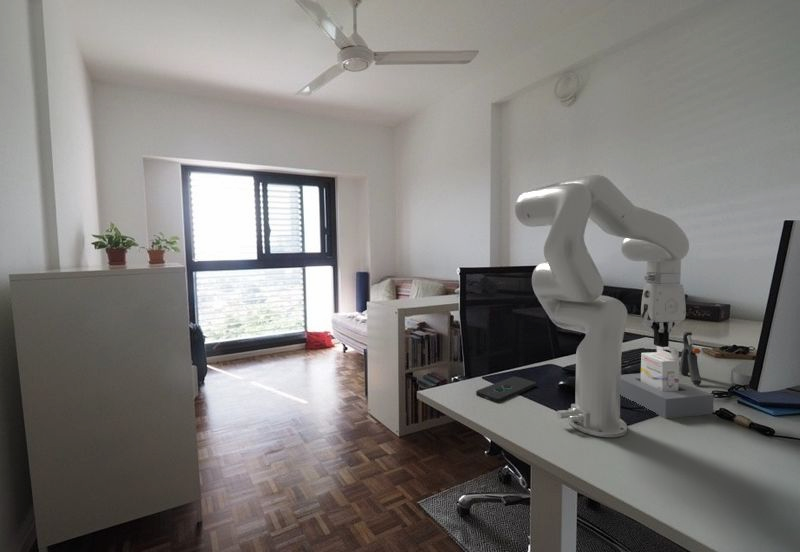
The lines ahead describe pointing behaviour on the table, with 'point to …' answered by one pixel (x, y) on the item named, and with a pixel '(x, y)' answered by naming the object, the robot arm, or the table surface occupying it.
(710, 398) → the cartridge dock
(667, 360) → the ink cartridge box
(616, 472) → the table surface
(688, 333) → the hand grip strengthener
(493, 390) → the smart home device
